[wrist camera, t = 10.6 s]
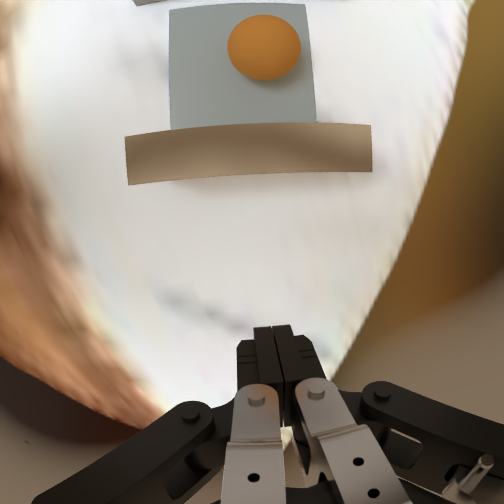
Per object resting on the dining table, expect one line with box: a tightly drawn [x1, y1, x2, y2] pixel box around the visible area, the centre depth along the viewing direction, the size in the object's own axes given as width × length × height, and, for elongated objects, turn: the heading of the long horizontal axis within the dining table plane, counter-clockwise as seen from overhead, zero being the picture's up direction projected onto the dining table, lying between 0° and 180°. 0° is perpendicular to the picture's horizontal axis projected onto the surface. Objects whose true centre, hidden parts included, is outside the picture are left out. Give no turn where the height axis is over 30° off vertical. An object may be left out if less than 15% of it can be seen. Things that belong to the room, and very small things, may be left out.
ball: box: [227, 15, 301, 80], centre depth 21 cm, size 6×6×6 cm
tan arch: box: [125, 122, 372, 185], centre depth 22 cm, size 3×15×10 cm, turn 93°
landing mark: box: [169, 3, 316, 130], centre depth 24 cm, size 13×13×1 cm
